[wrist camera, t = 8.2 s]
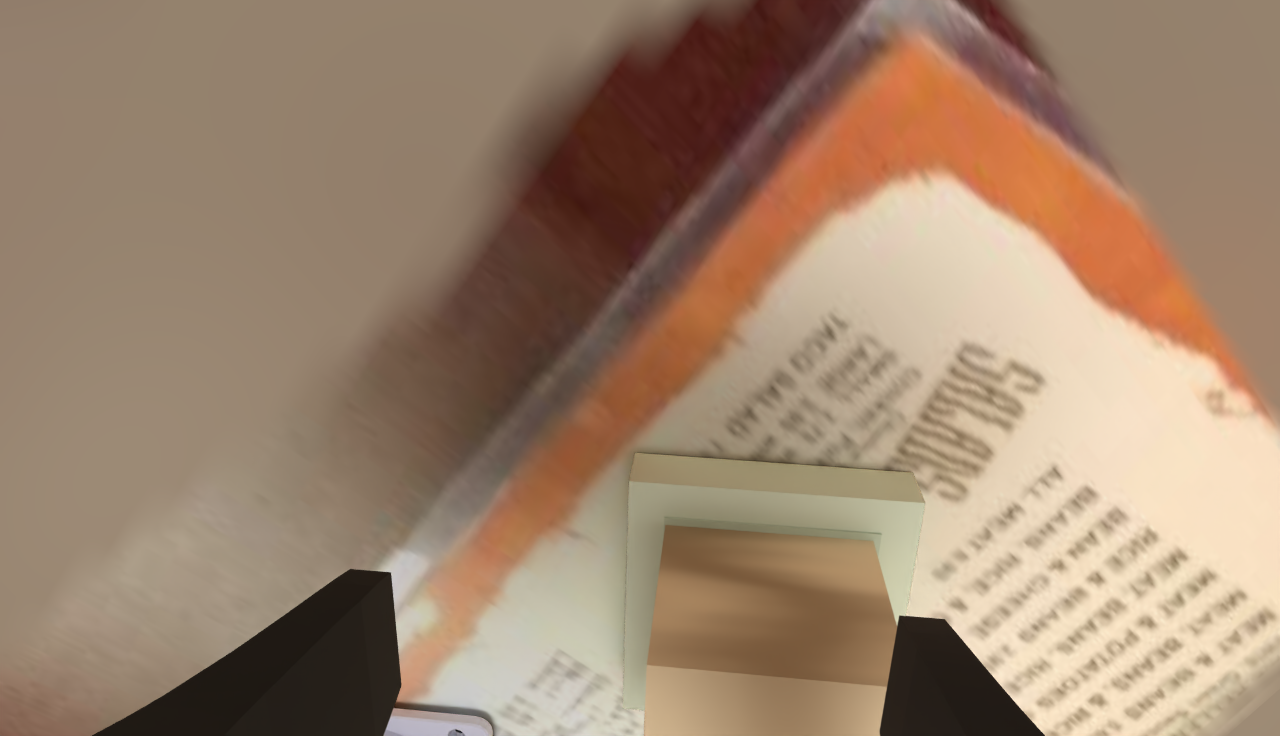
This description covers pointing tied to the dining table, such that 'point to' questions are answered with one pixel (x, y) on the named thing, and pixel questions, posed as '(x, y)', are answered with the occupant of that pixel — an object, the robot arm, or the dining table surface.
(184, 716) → the robot arm
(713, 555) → the block
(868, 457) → the dining table surface
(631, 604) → the base
